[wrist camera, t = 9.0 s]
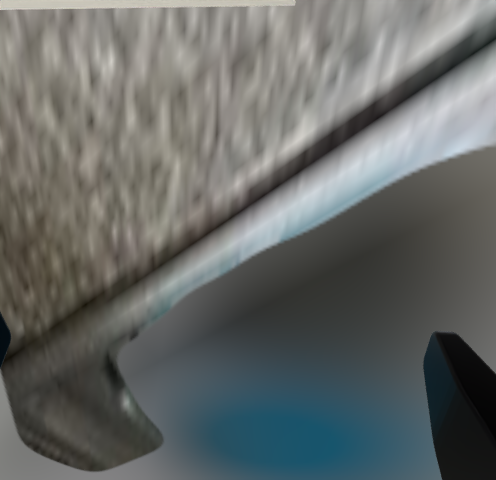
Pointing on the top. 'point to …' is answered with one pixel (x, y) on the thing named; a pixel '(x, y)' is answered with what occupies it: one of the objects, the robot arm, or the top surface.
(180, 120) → the top surface
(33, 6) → the tray
